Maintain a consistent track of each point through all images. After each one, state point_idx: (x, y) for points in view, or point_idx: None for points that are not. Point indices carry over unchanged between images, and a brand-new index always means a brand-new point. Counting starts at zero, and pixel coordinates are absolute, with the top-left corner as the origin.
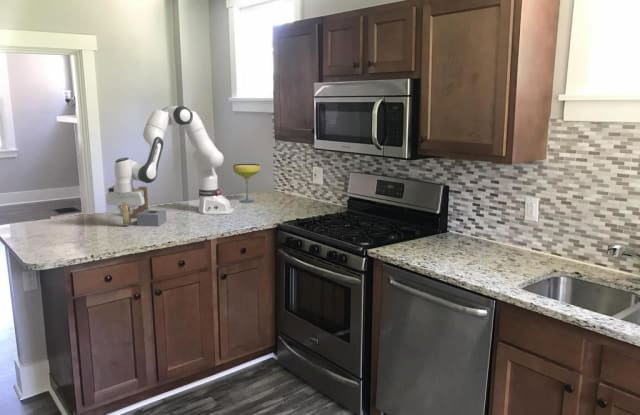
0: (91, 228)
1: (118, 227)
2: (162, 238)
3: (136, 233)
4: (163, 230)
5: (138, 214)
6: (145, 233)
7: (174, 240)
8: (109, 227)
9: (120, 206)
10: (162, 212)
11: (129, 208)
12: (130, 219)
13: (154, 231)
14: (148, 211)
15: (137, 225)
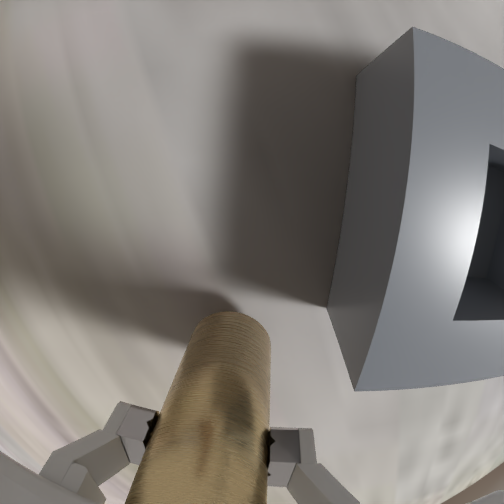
0: (35, 367)
1: (176, 366)
2: (457, 478)
3: (358, 468)
4: (493, 395)
5: (381, 387)
6: (404, 459)
7: (482, 476)
8: (110, 360)
9: (95, 485)
10: None
11: (265, 500)
12: (269, 373)
13: (451, 423)
14: (483, 146)
15: (329, 308)
